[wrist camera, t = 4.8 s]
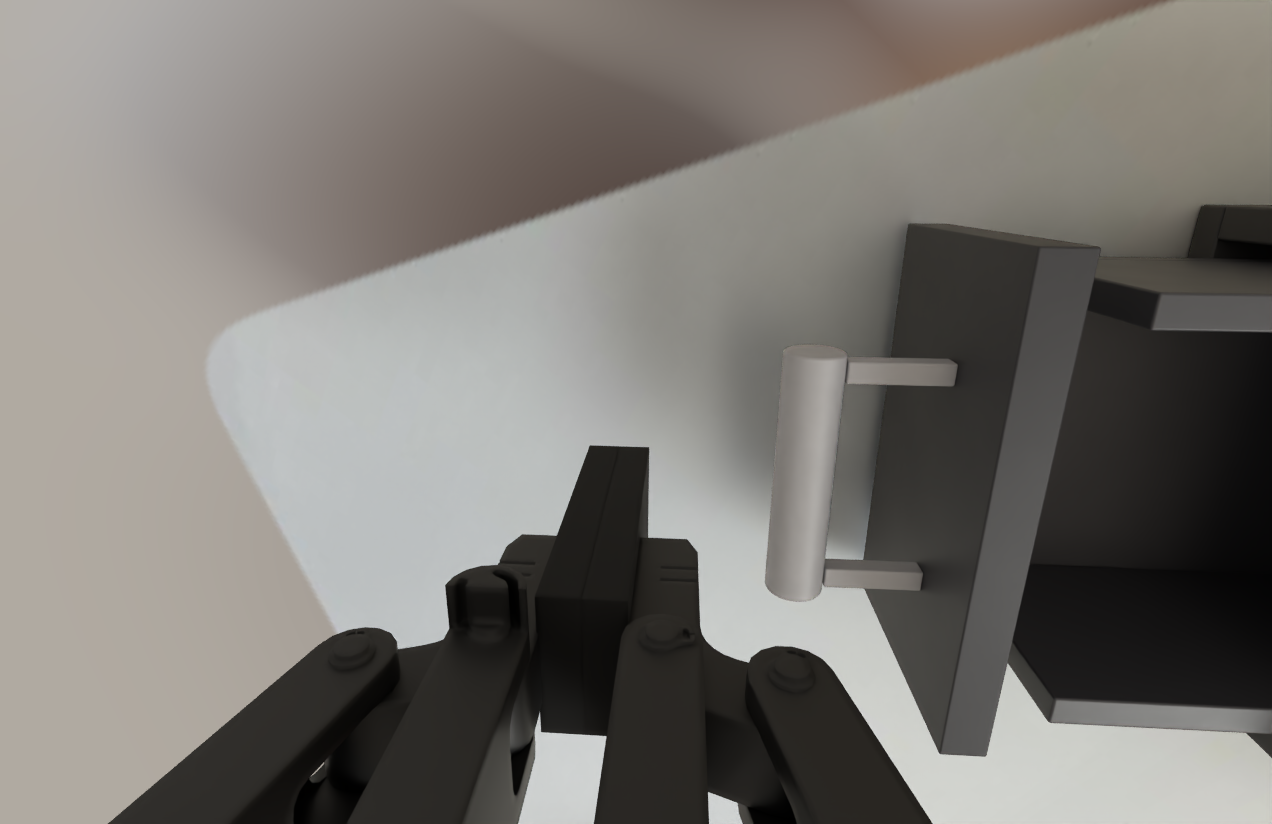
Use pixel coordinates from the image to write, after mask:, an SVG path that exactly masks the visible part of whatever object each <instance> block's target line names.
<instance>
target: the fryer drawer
mask: <svg viewBox="0 0 1272 824" xmlns="http://www.w3.org/2000/svg"><path fill="white" fill-rule="evenodd" d="M1100 251H1101V248H1100V247H1097V246H1090V245H1083V244H1077V243H1070V242H1064V241H1057V240H1050V239H1044V238H1037V237H1030V236H1024V235H1017V234H1010V233H1004V232H997V231H991V230H984V229H977V228H971V227H964V226H957V225H951V224H908V230H907V237H906V245H905V252H904V260H903V267H902V275H901V282H900V290H899V297H898V305H897V312H896V320H895V327H894V335H893V342H892V350H891V357H890V358H884V357H848V356H847V353H846V352H845V351H843V350H841V349H838V348H835V347H831V346H825V345H814V344H802V345H793V346H789V347H787V348H785V349H784V351H783V360H782V373H781V385H780V398H779V410H778V423H777V436H776V448H775V461H774V473H773V486H772V498H771V511H770V524H769V536H768V549H767V561H766V574H765V584H766V587H767V588H768V590H769V591H770V592H771V593H772V594H774V595H775V596H777V597H779V598H782V599H785V600H789V601H796V602H802V601H809V600H812V599H814V598H816V597H817V596H818V595H819V594H820V592H821V589H822V582H823V585H824V587H840V588H864V589H865V591H866V593H867V596H868V598H869V600H870V602H871V604H872V607H873V609H874V611H875V613H876V615H877V618H878V620H879V622H880V624H881V626H882V629H883V631H884V633H885V635H886V637H887V640H888V642H889V644H890V646H891V648H892V650H893V653H894V655H895V657H896V659H897V661H898V664H899V666H900V668H901V670H902V672H903V675H904V677H905V679H906V681H907V683H908V686H909V688H910V690H911V692H912V694H913V697H914V699H915V701H916V703H917V705H918V708H919V710H920V712H921V714H922V716H923V719H924V721H925V723H926V725H927V727H928V730H929V732H930V734H931V736H932V738H933V741H934V743H935V745H936V747H937V749H938V752H939V753H940V754H948V755H966V756H986V755H987V751H988V746H989V742H990V737H991V733H992V728H993V724H994V720H995V715H996V711H997V706H998V702H999V698H1000V693H1001V689H1002V684H1003V680H1004V675H1005V671H1006V667H1007V662H1008V664H1009V665H1010V667H1011V668H1012V670H1013V671H1014V672H1015V674H1016V675H1017V677H1018V678H1019V680H1020V681H1021V683H1022V684H1023V686H1024V687H1025V689H1026V690H1027V691H1028V693H1029V694H1030V696H1031V697H1032V699H1033V700H1034V702H1035V703H1036V705H1037V706H1038V708H1039V709H1040V710H1041V712H1042V713H1043V715H1044V716H1045V718H1046V719H1047V721H1048V722H1050V723H1065V724H1084V725H1104V726H1124V727H1143V728H1163V729H1183V730H1202V731H1222V732H1242V733H1261V734H1272V259H1225V258H1144V257H1099V255H1100ZM845 382H846V383H847V384H861V385H887V387H886V395H885V402H884V410H883V417H882V425H881V432H880V440H879V447H878V455H877V462H876V470H875V477H874V485H873V492H872V500H871V507H870V515H869V522H868V530H867V537H866V545H865V552H864V560H844V559H825V554H826V545H827V536H828V527H829V518H830V509H831V500H832V491H833V483H834V474H835V465H836V456H837V447H838V438H839V429H840V420H841V411H842V402H843V393H844V384H845Z"/></svg>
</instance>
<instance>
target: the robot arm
mask: <svg viewBox="0 0 1272 824" xmlns="http://www.w3.org/2000/svg"><path fill="white" fill-rule="evenodd" d="M648 488H649V447H619V446H590V447H589V449H588V452H587V455H586V458H585V460H584V463H583V466H582V469H581V471H580V474H579V477H578V480H577V482H576V485H575V488H574V490H573V493H572V496H571V499H570V501H569V504H568V507H567V510H566V512H565V515H564V518H563V521H562V523H561V526H560V529H559V532H558V534H557V536H548V535H524V534H522V535H521V536H520V537H518V538H517V539H516V540H515V541H513V542H512V543H511V544H509V545H508V546H507V547H506V549H505V551H504V553H503V555H502V557H501V559H500V563H498V565H491V566H480V567H476V568H472V569H468V570H465V571H463V572H462V573H460V574H458V575H456V576H454V577H453V578H452V579H451V580H450V581H449V582H448V583H447V584H446V585H445V587H446V598H447V608H448V618H449V628H450V629H449V630H448V632H447V634H446V636H445V638H444V640H441V641H439V642H435V643H431V644H427V645H422V646H416V647H410V648H404V649H398V648H397V641H396V640H395V638H394V637H393V636H392V634H391V633H389V632H387V631H384V630H382V629H379V628H366V627H365V628H358V629H352V630H347V631H345V632H342V633H339V634H337V635H334V636H332V637H330V638H329V639H327V640H326V641H324V642H322V643H321V644H319V645H318V646H317V647H316V648H315V649H313V650H312V651H311V652H310V653H309V654H307V655H306V656H305V657H304V658H303V659H301V660H300V661H299V662H298V663H297V664H296V665H295V666H293V667H292V668H291V669H290V670H289V671H287V672H286V673H285V674H284V675H283V676H281V677H280V678H279V679H278V680H277V681H276V682H274V683H273V684H272V685H271V686H270V687H268V688H267V689H266V690H265V691H264V692H263V693H261V694H260V695H259V696H258V697H257V698H256V699H254V700H253V701H252V702H251V703H250V704H248V705H247V706H246V707H245V708H244V709H243V710H241V711H240V712H239V713H238V714H237V715H236V716H234V717H233V718H232V719H231V720H230V721H229V722H227V723H226V724H225V725H224V726H223V727H221V728H220V729H219V730H218V731H217V732H215V733H214V734H213V735H212V736H211V737H210V738H208V739H207V740H206V741H205V742H204V743H202V744H201V745H200V746H199V747H198V748H197V749H196V750H194V751H193V752H192V753H191V754H190V755H188V756H187V757H186V758H185V759H184V760H183V761H181V762H180V763H179V764H178V765H177V766H176V767H174V768H173V769H172V770H171V771H170V772H168V773H167V774H166V775H165V776H164V777H162V778H161V779H160V780H159V781H158V782H157V783H155V784H154V785H153V786H152V787H151V788H150V789H148V790H147V791H146V792H145V793H144V794H143V795H141V796H140V797H139V798H138V799H137V800H135V801H134V802H133V803H132V804H131V805H130V806H128V807H127V808H126V809H125V810H124V811H122V812H121V813H120V814H119V815H118V816H117V817H115V818H114V819H113V820H112V821H111V822H109V823H108V824H518V821H519V817H520V814H521V810H522V806H523V802H524V798H525V794H526V790H527V787H528V783H529V779H530V775H531V771H532V767H533V763H534V759H535V732H534V731H535V727H536V724H537V720H538V716H539V713H540V717H541V732H549V733H566V734H582V735H599V736H607V738H606V745H605V752H604V758H603V765H602V772H601V779H600V786H599V793H598V799H597V806H596V813H595V820H594V824H709V813H708V792H710V793H713V794H716V795H718V796H721V797H724V798H726V799H729V800H732V801H734V802H737V803H738V808H739V814H740V817H741V820H742V823H743V824H932V822H931V821H930V819H929V817H928V816H927V814H926V813H925V811H924V810H923V808H922V807H921V805H920V804H919V802H918V801H917V799H916V797H915V796H914V794H913V793H912V791H911V790H910V788H909V787H908V785H907V784H906V782H905V781H904V779H903V777H902V776H901V774H900V773H899V771H898V770H897V768H896V767H895V765H894V764H893V762H892V761H891V759H890V757H889V756H888V754H887V753H886V751H885V750H884V748H883V747H882V745H881V744H880V742H879V741H878V739H877V737H876V736H875V734H874V733H873V731H872V730H871V728H870V727H869V725H868V724H867V722H866V721H865V719H864V717H863V716H862V714H861V713H860V711H859V710H858V708H857V707H856V705H855V704H854V702H853V701H852V699H851V697H850V696H849V694H848V693H847V691H846V690H845V688H844V687H843V685H842V684H841V682H840V681H839V679H838V677H837V676H836V674H835V673H834V671H833V670H832V669H831V668H830V667H829V666H828V665H827V664H826V662H825V661H824V660H823V659H821V658H819V657H818V656H816V655H814V654H812V653H810V652H809V651H806V650H802V649H798V648H795V647H783V646H775V647H771V648H767V649H763V650H761V651H759V652H758V653H757V654H755V655H754V656H753V657H751V660H750V662H749V663H747V662H744V661H740V660H737V659H734V658H731V657H729V656H726V655H724V654H722V653H720V652H719V651H717V650H715V649H714V648H713V647H712V646H710V645H709V644H708V643H707V642H706V640H705V639H704V637H703V635H702V633H701V629H700V612H699V582H698V553H697V551H696V550H695V549H694V548H693V546H692V545H691V544H690V542H689V541H688V540H687V539H664V538H648ZM323 762H324V765H323V766H322V767H321V768H320V769H319V770H318V771H317V772H316V773H315V774H314V775H312V774H313V773H314V772H315V771H316V770H317V769H318V768H319V767H320V766H321V764H322V763H323ZM311 775H312V776H311ZM310 776H311V777H310ZM309 777H310V778H309Z"/></svg>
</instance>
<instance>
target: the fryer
mask: <svg viewBox="0 0 1272 824" xmlns="http://www.w3.org/2000/svg"><path fill="white" fill-rule="evenodd" d="M1188 258H1225V259H1272V205H1204V206H1202V207H1201V211H1200V214H1199V218H1198V222H1197V225H1196V229H1195V233H1194V237H1193V240H1192V244H1191V248H1190V252H1189V255H1188ZM1247 734H1248V735H1249V736H1250V737H1251V738H1252V739H1253V740H1254V741H1255V742H1256V743H1257V744H1258V745H1259V746H1260V747H1261V748H1262V749H1263V750H1264V751H1265V752H1266V753H1267V754H1268V755H1269V756H1270V757H1271V758H1272V734H1261V733H1247Z"/></svg>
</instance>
